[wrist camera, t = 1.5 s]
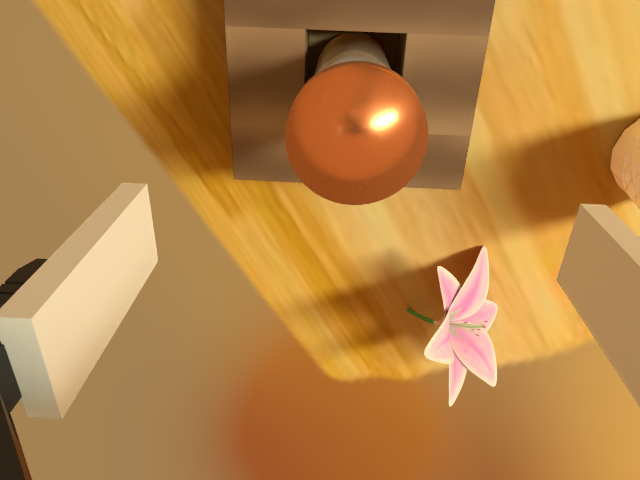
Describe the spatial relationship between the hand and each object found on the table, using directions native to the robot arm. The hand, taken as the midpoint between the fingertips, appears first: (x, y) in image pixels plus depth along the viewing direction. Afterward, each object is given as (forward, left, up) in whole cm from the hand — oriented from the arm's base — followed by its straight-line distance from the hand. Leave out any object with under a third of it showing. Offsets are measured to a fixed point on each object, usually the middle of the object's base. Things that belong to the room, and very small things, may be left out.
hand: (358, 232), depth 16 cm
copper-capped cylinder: (0, 0, -23) cm, 23 cm away
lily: (+19, +10, -24) cm, 32 cm away
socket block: (0, 0, -23) cm, 23 cm away
